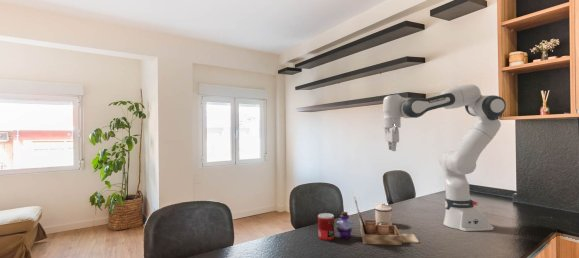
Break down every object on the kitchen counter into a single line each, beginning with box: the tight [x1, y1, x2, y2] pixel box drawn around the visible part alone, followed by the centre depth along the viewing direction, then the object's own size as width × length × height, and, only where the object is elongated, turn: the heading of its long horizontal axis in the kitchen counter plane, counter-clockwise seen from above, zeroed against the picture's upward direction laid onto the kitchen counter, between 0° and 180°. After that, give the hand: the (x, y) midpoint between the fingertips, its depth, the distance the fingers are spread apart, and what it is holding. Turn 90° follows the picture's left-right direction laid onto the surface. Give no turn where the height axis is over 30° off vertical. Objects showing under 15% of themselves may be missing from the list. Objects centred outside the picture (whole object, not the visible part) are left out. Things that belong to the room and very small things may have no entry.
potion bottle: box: [335, 211, 354, 240], centre depth 142 cm, size 9×9×12 cm
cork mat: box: [400, 233, 420, 244], centre depth 137 cm, size 7×10×1 cm
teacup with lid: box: [374, 202, 393, 225], centre depth 160 cm, size 12×9×12 cm
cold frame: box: [352, 193, 403, 246], centre depth 139 cm, size 20×15×20 cm
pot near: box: [377, 222, 389, 235], centre depth 138 cm, size 6×6×7 cm
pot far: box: [363, 218, 376, 235], centre depth 143 cm, size 6×6×7 cm
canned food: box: [317, 212, 336, 241], centre depth 141 cm, size 8×8×11 cm
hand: (392, 150), depth 154 cm, fingers open, 8 cm apart
